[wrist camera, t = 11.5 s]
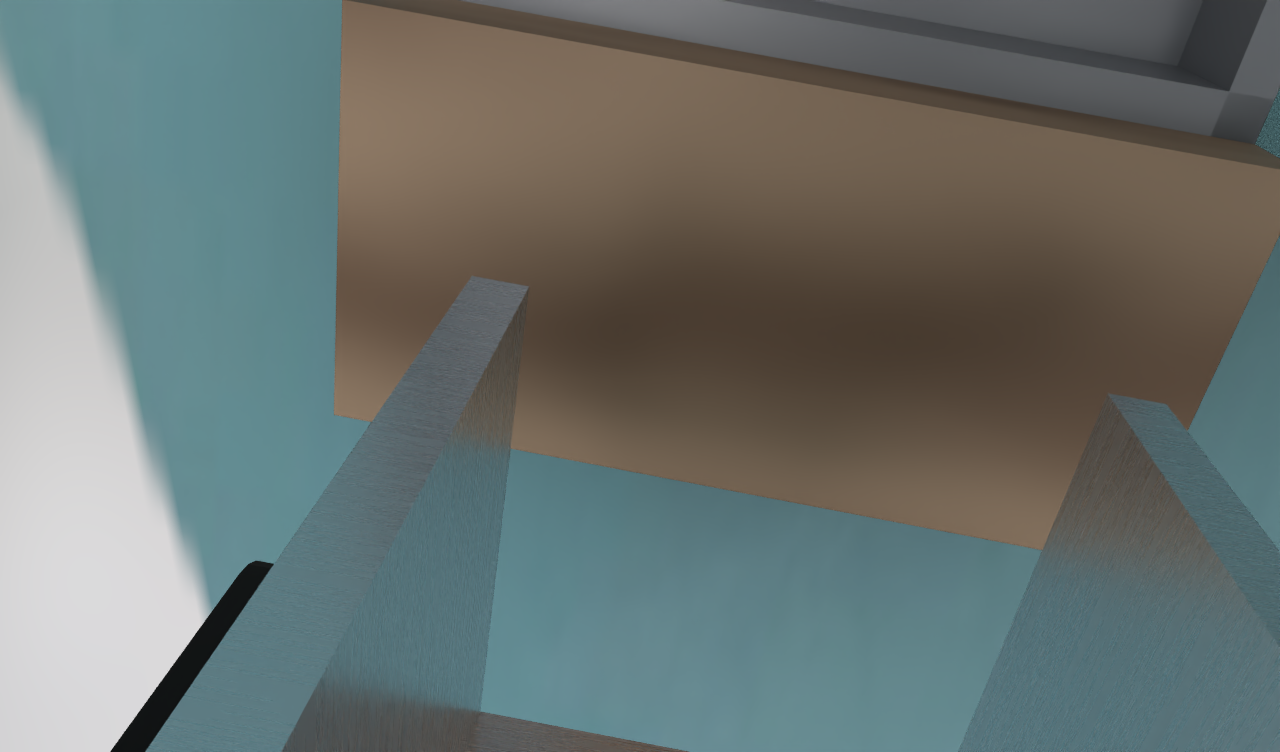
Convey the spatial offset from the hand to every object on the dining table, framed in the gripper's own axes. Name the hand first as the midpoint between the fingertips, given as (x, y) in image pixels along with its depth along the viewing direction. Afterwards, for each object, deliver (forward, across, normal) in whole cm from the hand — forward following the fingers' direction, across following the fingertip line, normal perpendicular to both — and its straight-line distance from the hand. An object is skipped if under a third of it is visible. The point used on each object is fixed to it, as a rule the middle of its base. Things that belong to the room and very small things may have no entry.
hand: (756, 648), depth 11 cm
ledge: (+14, 0, 0) cm, 14 cm away
